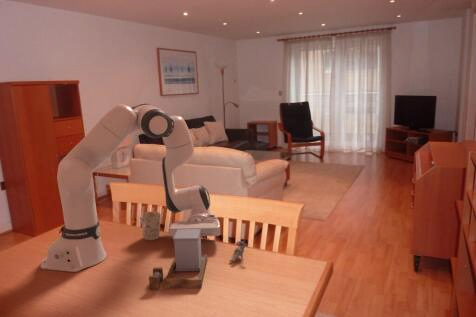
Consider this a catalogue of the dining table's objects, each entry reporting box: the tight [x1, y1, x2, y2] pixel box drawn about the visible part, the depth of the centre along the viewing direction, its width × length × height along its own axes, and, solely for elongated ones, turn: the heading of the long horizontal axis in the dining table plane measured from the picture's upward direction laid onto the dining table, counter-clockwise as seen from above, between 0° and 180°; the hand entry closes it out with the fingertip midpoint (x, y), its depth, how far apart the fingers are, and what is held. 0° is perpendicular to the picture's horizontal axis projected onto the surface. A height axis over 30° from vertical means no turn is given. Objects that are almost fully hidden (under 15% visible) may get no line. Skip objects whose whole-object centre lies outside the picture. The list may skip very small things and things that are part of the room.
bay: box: [148, 254, 208, 291], centre depth 121 cm, size 16×19×4 cm
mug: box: [139, 210, 161, 241], centre depth 148 cm, size 8×13×10 cm, turn 174°
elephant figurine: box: [229, 240, 249, 264], centre depth 130 cm, size 10×6×9 cm
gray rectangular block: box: [172, 229, 203, 272], centre depth 125 cm, size 8×7×12 cm
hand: (192, 237), depth 134 cm, fingers closed
